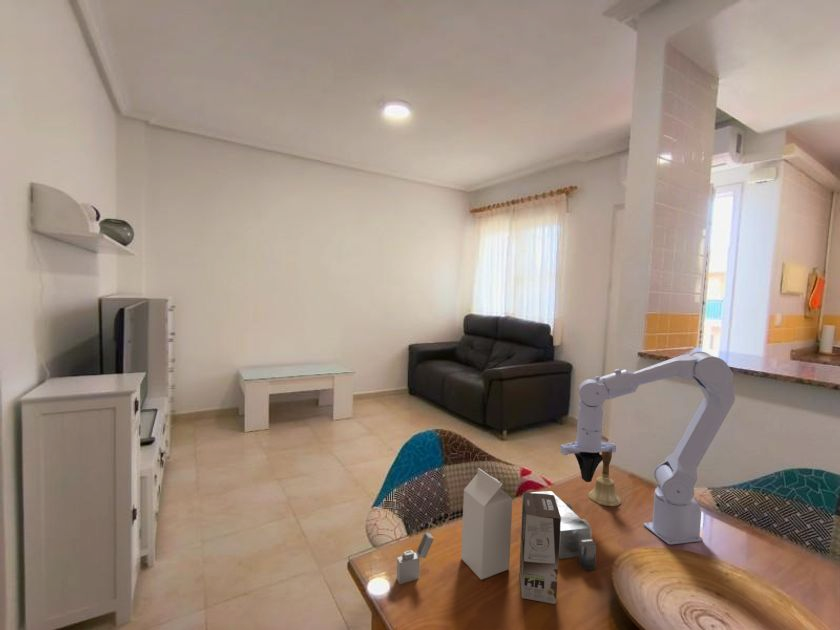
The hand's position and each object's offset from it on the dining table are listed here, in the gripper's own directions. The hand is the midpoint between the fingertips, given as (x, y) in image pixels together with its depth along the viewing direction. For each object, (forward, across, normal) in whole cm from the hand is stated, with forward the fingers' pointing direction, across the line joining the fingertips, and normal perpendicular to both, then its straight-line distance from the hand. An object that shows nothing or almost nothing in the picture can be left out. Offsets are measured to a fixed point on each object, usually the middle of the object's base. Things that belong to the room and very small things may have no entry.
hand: (586, 480), depth 101 cm
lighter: (+10, +47, +14) cm, 50 cm away
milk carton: (+10, +32, +13) cm, 36 cm away
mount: (+9, +12, +6) cm, 16 cm away
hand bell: (+10, -11, -7) cm, 16 cm away
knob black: (+8, +10, +2) cm, 13 cm away
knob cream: (+8, +10, +9) cm, 16 cm away
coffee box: (+10, +24, +20) cm, 33 cm away
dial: (+9, +11, +17) cm, 22 cm away
